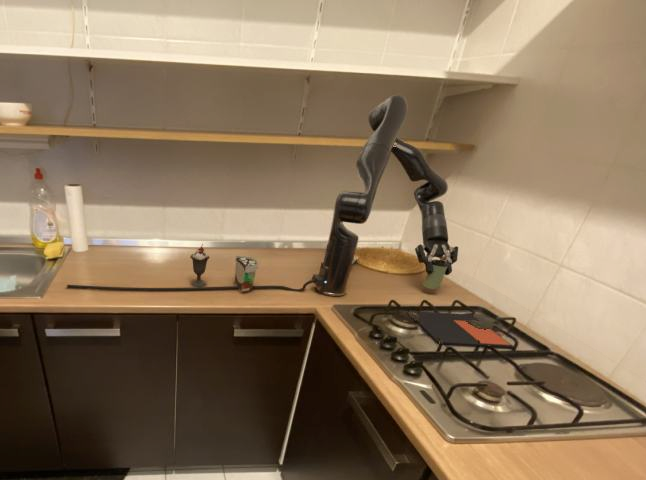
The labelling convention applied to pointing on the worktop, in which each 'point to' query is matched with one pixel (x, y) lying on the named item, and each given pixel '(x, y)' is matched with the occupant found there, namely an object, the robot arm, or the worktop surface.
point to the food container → (245, 273)
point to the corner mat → (459, 330)
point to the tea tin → (436, 274)
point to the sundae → (199, 265)
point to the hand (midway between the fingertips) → (439, 273)
